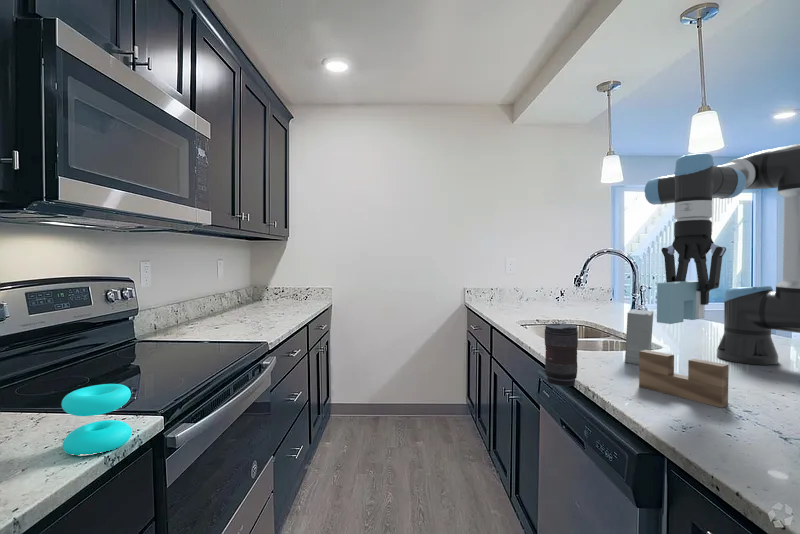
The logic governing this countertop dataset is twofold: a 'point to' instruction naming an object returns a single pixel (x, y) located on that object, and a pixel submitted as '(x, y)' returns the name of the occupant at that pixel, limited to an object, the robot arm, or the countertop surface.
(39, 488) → the countertop surface
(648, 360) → the walnut notched block
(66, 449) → the donuts
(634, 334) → the skincare box
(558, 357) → the camera lens
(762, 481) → the countertop surface
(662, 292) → the light blue notched block
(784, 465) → the countertop surface
